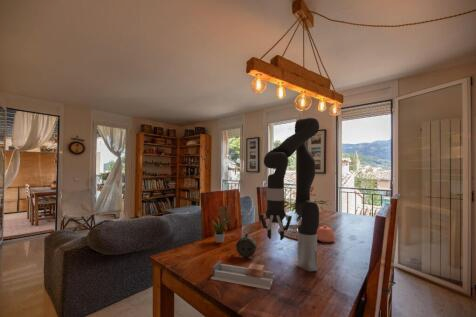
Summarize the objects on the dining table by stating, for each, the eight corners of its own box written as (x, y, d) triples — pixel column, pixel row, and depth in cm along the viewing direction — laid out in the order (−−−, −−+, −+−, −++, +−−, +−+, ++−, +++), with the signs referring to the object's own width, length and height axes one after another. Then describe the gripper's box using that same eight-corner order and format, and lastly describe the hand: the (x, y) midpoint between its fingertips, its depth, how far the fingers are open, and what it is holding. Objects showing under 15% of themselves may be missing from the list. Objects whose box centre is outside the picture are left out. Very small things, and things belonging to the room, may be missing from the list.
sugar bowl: (338, 244, 145) (337, 228, 145) (316, 243, 145) (316, 228, 145) (330, 238, 157) (330, 223, 157) (310, 237, 157) (310, 223, 158)
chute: (274, 277, 99) (274, 266, 99) (269, 292, 87) (269, 279, 88) (221, 269, 107) (221, 258, 107) (210, 280, 96) (210, 269, 96)
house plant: (232, 238, 153) (232, 215, 154) (232, 245, 139) (232, 219, 140) (211, 238, 153) (211, 215, 153) (209, 245, 139) (209, 219, 139)
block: (264, 276, 97) (264, 265, 97) (261, 282, 92) (261, 270, 92) (250, 274, 99) (250, 263, 99) (247, 280, 94) (247, 268, 94)
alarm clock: (256, 257, 121) (256, 228, 121) (254, 261, 116) (255, 230, 116) (237, 255, 124) (237, 226, 124) (235, 259, 118) (235, 229, 119)
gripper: (293, 198, 96) (293, 238, 95) (261, 196, 100) (261, 234, 99) (291, 200, 88) (292, 244, 88) (257, 198, 93) (257, 239, 92)
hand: (275, 238), depth 93 cm, fingers open, 4 cm apart
